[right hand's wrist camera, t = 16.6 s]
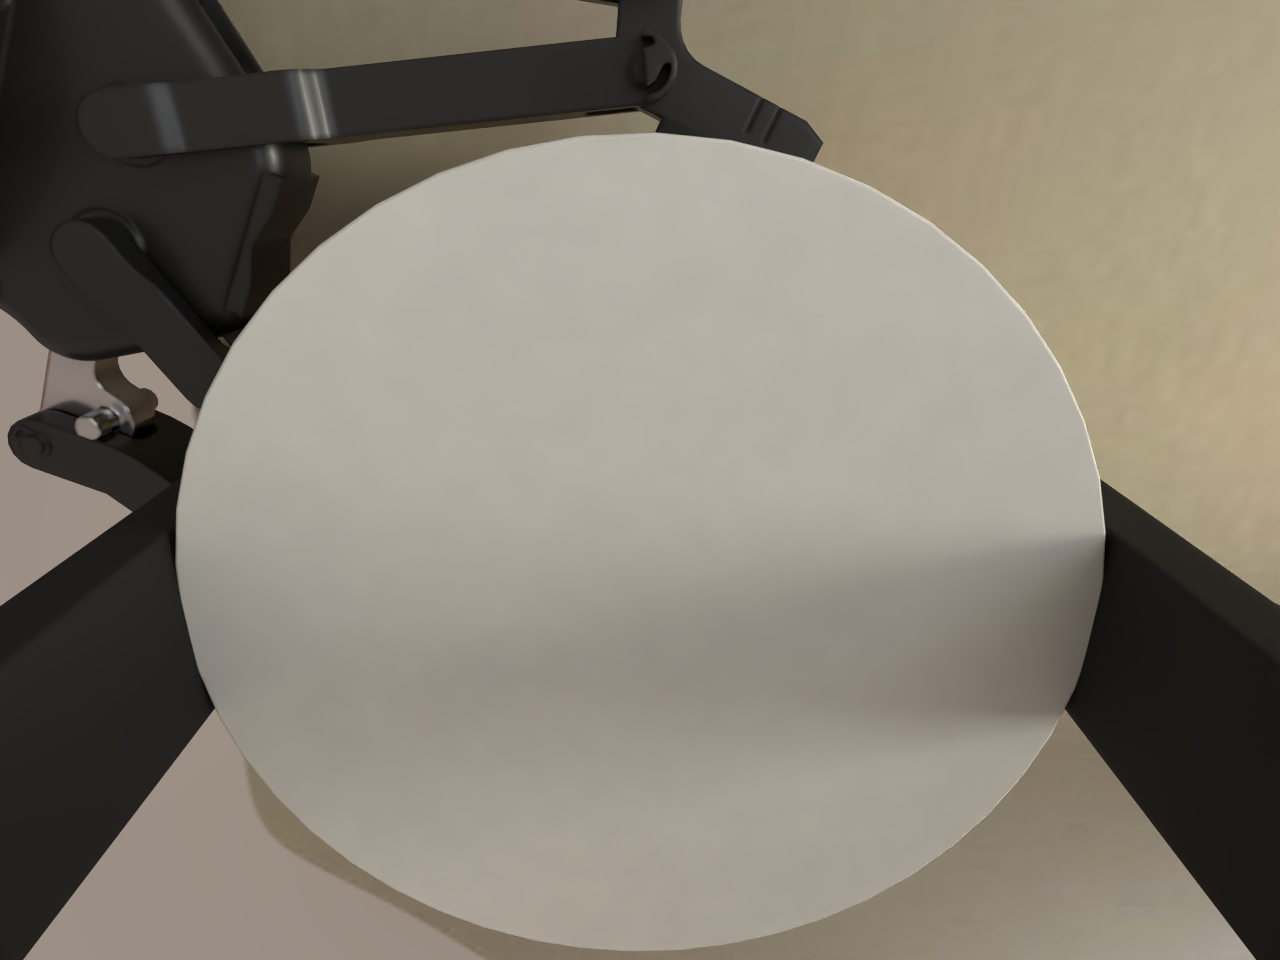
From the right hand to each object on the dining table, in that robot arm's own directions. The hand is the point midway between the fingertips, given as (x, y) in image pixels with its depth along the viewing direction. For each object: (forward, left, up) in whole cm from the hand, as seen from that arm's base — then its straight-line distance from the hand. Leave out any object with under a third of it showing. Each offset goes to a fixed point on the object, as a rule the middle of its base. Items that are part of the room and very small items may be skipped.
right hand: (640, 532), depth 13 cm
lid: (0, 0, +3) cm, 3 cm away
